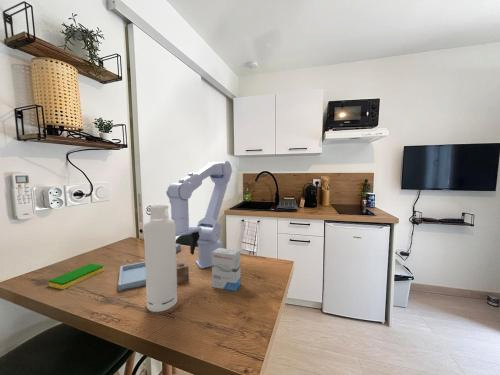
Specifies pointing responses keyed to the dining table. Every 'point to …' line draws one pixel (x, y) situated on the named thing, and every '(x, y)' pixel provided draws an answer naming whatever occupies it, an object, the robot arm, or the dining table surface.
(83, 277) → the dish sponge
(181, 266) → the walnut block
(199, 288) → the dining table surface
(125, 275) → the tray
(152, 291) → the bottle
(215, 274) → the ink box
